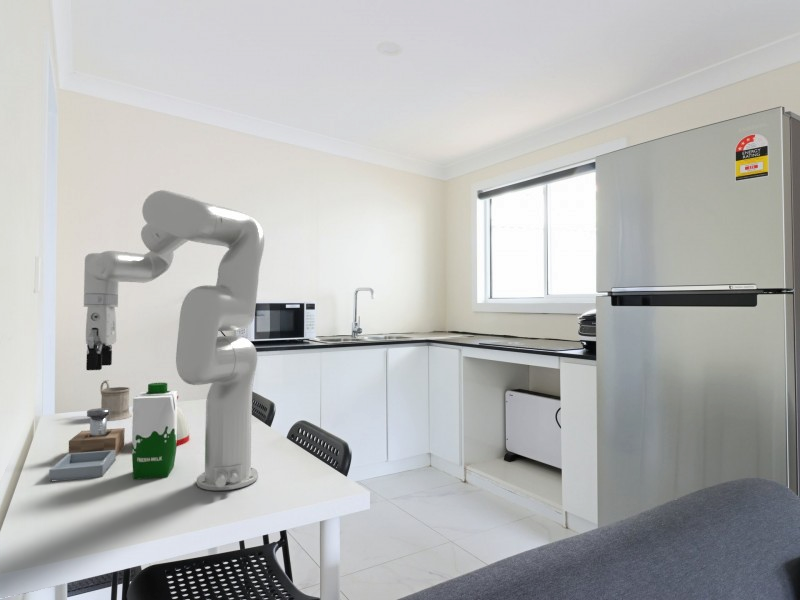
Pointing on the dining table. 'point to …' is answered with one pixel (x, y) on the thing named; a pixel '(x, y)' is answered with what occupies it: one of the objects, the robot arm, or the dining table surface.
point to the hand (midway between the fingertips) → (99, 367)
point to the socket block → (98, 441)
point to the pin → (98, 421)
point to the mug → (115, 402)
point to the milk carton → (154, 432)
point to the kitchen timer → (181, 428)
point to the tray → (83, 465)
